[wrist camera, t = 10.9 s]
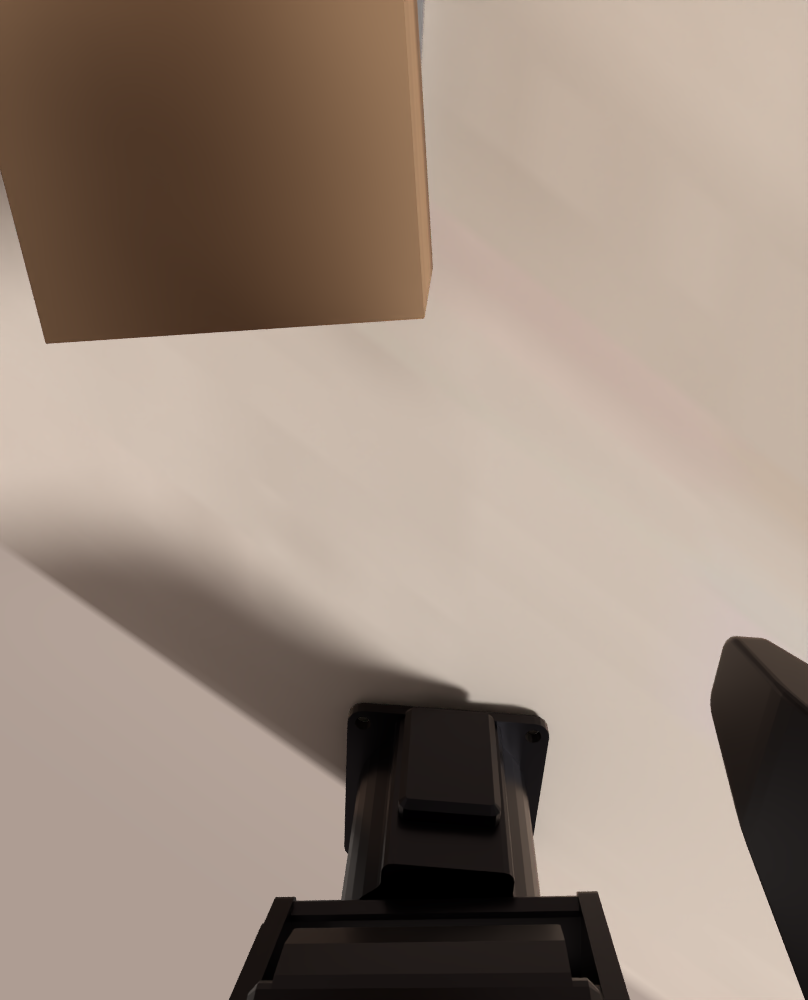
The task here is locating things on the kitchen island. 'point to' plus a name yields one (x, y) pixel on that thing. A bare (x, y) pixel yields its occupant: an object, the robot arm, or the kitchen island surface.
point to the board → (215, 163)
